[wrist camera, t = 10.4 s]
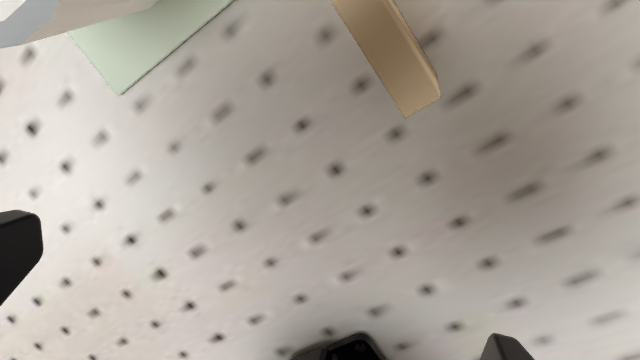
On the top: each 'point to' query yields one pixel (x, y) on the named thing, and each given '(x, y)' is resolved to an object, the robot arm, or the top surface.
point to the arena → (391, 52)
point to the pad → (142, 38)
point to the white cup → (58, 17)
